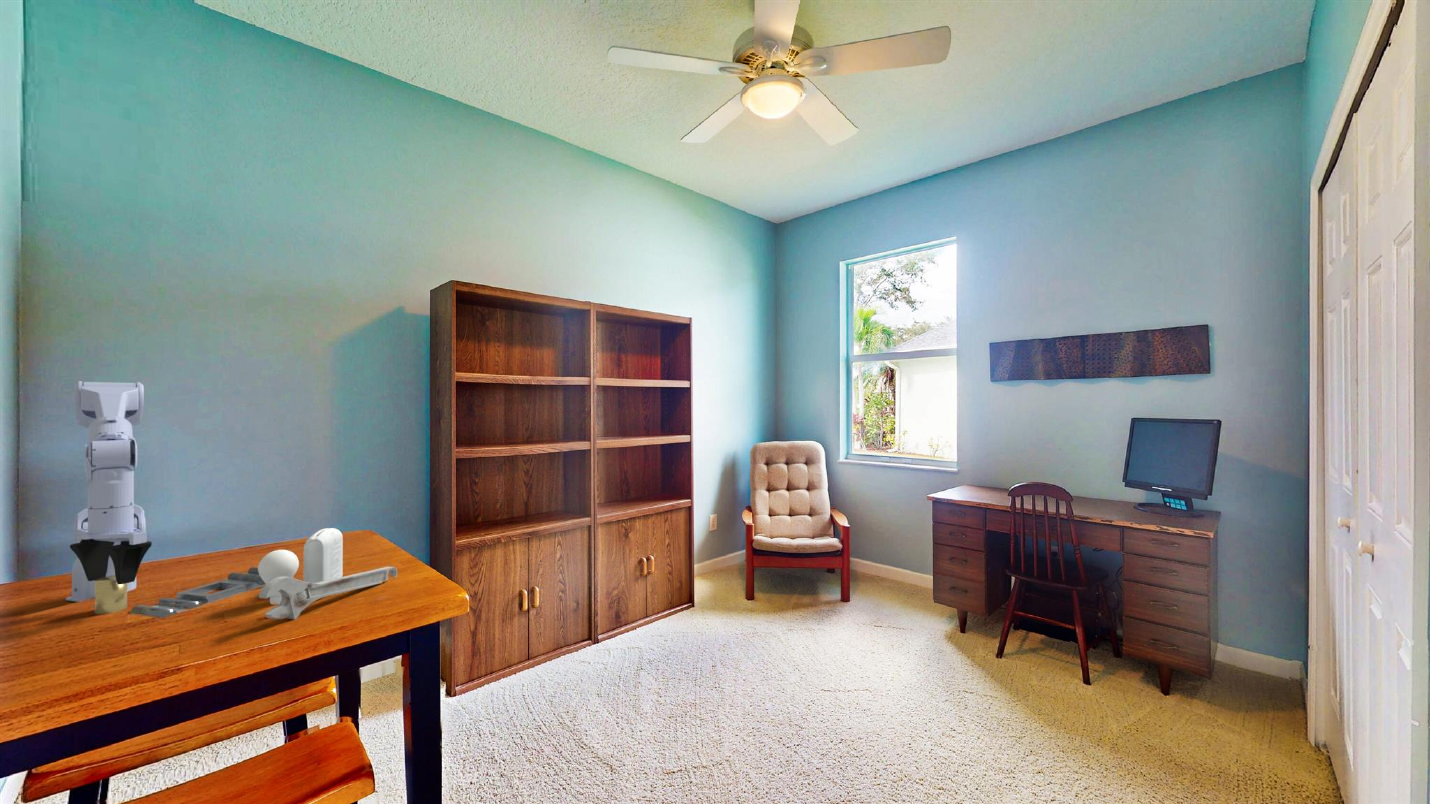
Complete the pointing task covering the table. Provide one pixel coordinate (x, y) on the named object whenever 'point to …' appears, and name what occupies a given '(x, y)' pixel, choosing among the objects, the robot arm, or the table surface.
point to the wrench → (316, 590)
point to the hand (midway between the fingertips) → (111, 581)
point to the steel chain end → (167, 607)
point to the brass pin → (109, 595)
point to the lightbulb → (278, 569)
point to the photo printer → (323, 556)
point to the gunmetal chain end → (224, 587)
